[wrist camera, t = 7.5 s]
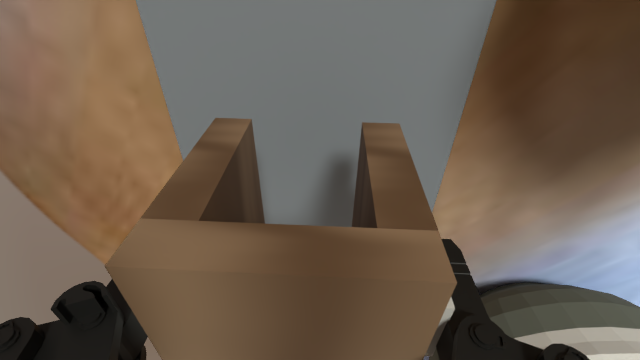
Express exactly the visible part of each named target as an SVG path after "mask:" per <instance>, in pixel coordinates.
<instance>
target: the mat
mask: <svg viewBox="0 0 640 360" xmlns="http://www.w3.org/2000/svg"><path fill="white" fill-rule="evenodd" d="M136 3H137V6H138V10H139V13H140V16H141V20H142V23H143V27H144V30H145V33H146V37H147V40H148V43H149V47H150V50H151V53H152V57H153V60H154V64H155V67H156V70H157V74H158V77H159V80H160V84H161V87H162V90H163V94H164V97H165V101H166V104H167V107H168V111H169V114H170V117H171V121H172V124H173V127H174V131H175V134H176V138H177V141H178V144H179V148H180V151H181V154H182V158H183V161H184V159H185V158H186V157H187V155H188V154H189V153H190V151H191V150H192V149H193V147H194V146H195V145H196V143H197V142H198V140H199V139H200V138H201V136H202V135H203V134H204V132H205V131H206V130H207V128H208V127H209V126H210V124H211V123H212V122H213V120H214V119H215V118H238V119H252V125H253V133H254V141H255V149H256V157H257V165H258V172H259V180H260V188H261V196H262V204H263V212H264V219H265V224H287V225H311V226H335V227H352V218H353V208H354V198H355V188H356V178H357V168H358V158H359V148H360V138H361V128H362V122H367V123H399V124H400V126H401V129H402V132H403V135H404V138H405V140H406V143H407V146H408V149H409V151H410V154H411V157H412V160H413V162H414V165H415V168H416V171H417V173H418V176H419V179H420V182H421V184H422V187H423V190H424V193H425V195H426V198H427V201H428V204H429V206H430V209H431V212H432V211H433V207H434V204H435V201H436V197H437V194H438V191H439V188H440V184H441V181H442V178H443V174H444V171H445V168H446V165H447V161H448V158H449V155H450V151H451V148H452V145H453V142H454V138H455V135H456V132H457V128H458V125H459V122H460V119H461V115H462V112H463V109H464V105H465V102H466V99H467V96H468V92H469V89H470V86H471V82H472V79H473V76H474V73H475V69H476V66H477V63H478V59H479V56H480V53H481V50H482V46H483V43H484V40H485V36H486V33H487V30H488V27H489V23H490V20H491V17H492V13H493V10H494V7H495V4H496V0H136Z"/></svg>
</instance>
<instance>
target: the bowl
mask: <svg viewBox="0 0 640 360" xmlns="http://www.w3.org/2000/svg"><path fill="white" fill-rule="evenodd" d="M480 298H481V300H482V302H483V305H484V307H485V310H486V312H487V314H488V316H489V318H490V320H491V321H493V322H494V323H495V324H497V325H498V326H499V327H500V328H501V329H502V330H503V332H504V333H505V334H506V335H508V336H509V337H511V338H514V339H516V340H518V341H521V342H524V343H527V344H529V345H532V346H535V347H538V348H541V349H545V348H546V347H547V346H549V345H551V344H565V345H568V346H571V347H573V348H575V349H577V350H578V351H580V352H582V353H583V354H585V355H586V356H587V357H588V358H589V359H590V360H640V307H638V306H636V305H634V304H632V303H631V302H629V301H627V300H624V299H622V298H619V297H617V296H615V295H612V294H608V293H604V292H599V291H594V290H589V289H584V288H580V287H575V286H569V285H554V284H541V283H516V284H509V285H505V286H501V287H497V288H495V289H492V290H489V291H487V292H485V293H483V294H481V295H480ZM429 360H439V357H438V353H437V349H436V350H435V352H434V354H433V356H430V357H429Z"/></svg>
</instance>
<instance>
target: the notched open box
mask: <svg viewBox="0 0 640 360" xmlns="http://www.w3.org/2000/svg"><path fill="white" fill-rule="evenodd" d="M105 268H106V269H107V271H108V273H109V274H110V276H111V277H112V279H113V281H114V282H115V284H116V286H117V287H118V289H119V290H120V292H121V294H122V295H123V297H124V299H125V300H126V302H127V303H128V305H129V307H130V308H131V310H132V312H133V313H134V315H135V316H136V318H137V320H138V321H139V323H140V325H141V326H142V328H143V329H144V331H145V333H146V334H147V336H148V337H149V339H150V341H151V342H152V344H153V346H154V347H155V349H156V350H157V352H158V354H159V355H160V357H161V359H162V360H423V359H424V356H425V354H426V352H427V350H428V347H429V345H430V343H431V341H432V338H433V336H434V334H435V331H436V329H437V327H438V325H439V322H440V320H441V318H442V316H443V313H444V311H445V309H446V307H447V304H448V302H449V300H450V298H451V295H452V293H453V291H454V289H455V286H456V284H457V281H456V278H455V275H454V273H453V270H452V267H451V264H450V262H449V259H448V256H447V253H446V251H445V248H444V245H443V242H442V240H441V237H440V234H439V231H438V228H437V226H436V223H435V220H434V217H433V215H432V212H431V209H430V206H429V204H428V201H427V198H426V195H425V193H424V190H423V187H422V184H421V182H420V179H419V176H418V173H417V171H416V168H415V165H414V162H413V160H412V157H411V154H410V151H409V149H408V146H407V143H406V140H405V138H404V135H403V132H402V129H401V126H400V124H399V123H367V122H362V128H361V138H360V148H359V158H358V168H357V178H356V188H355V198H354V208H353V218H352V227H335V226H311V225H287V224H265V219H264V212H263V204H262V196H261V188H260V180H259V172H258V165H257V157H256V149H255V141H254V133H253V125H252V119H238V118H215V119H214V120H213V122H212V123H211V124H210V126H209V127H208V128H207V130H206V131H205V132H204V134H203V135H202V136H201V138H200V139H199V140H198V142H197V143H196V145H195V146H194V147H193V149H192V150H191V151H190V153H189V154H188V155H187V157H186V158H185V159H184V161H183V162H182V163H181V165H180V166H179V167H178V169H177V170H176V171H175V173H174V174H173V175H172V177H171V178H170V179H169V181H168V182H167V183H166V185H165V186H164V187H163V189H162V190H161V191H160V193H159V194H158V195H157V197H156V198H155V200H154V201H153V202H152V204H151V205H150V206H149V208H148V209H147V210H146V212H145V213H144V214H143V216H142V217H141V218H140V220H139V221H138V222H137V224H136V225H135V226H134V228H133V229H132V230H131V232H130V233H129V234H128V236H127V237H126V238H125V240H124V241H123V242H122V244H121V245H120V246H119V248H118V249H117V251H116V252H115V253H114V255H113V256H112V257H111V259H110V260H109V261H108V263H107V264H106V265H105Z"/></svg>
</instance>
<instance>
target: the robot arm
mask: <svg viewBox="0 0 640 360" xmlns="http://www.w3.org/2000/svg"><path fill="white" fill-rule="evenodd" d="M441 240H442V242H443V245H444V248H445V251H446V253H447V256H448V259H449V262H450V264H451V267H452V270H453V273H454V275H455V278H456V281H457V284H456V286H455V289H454V291H453V293H452V295H451V298H450V300H449V302H448V304H447V307H446V309H445V311H444V313H443V316H442V318H441V320H440V322H439V325H438V327H437V329H436V331H435V334H434V336H433V338H432V341H431V343H430V345H429V347H428V350H427V352H426V354H425V356H433V354H434V352H435V350H436V349H437V353H438V357H439V360H590V359H589V358H588V357H587V356H586V355H585V354H583V353H582V352H580V351H578V350H577V349H575V348H573V347H571V346H568V345H565V344H551V345H549V346H547V347H546V348H545V349H541V348H538V347H535V346H532V345H529V344H527V343H524V342H521V341H518V340H516V339H514V338H511V337H509V336H508V335H506V334H505V333H504V332H503V330H502V329H501V328H500V327H499V326H498V325H497V324H495V323H494V322H493V321H491V320H490V318H489V316H488V314H487V312H486V310H485V307H484V305H483V302H482V300H481V298H480V295H479V293H478V290H477V288H476V286H475V283H474V281H473V278H472V276H471V275H470V271H469V269H468V266H467V265H466V262H465V259H464V257H463V254H462V252H461V250H460V249H459V248H458V247H457V246H456V245H455V243H454V242H453V241H452V240H451V239H441ZM51 310H52V311H53V313H54V314H55V315H56V316H57V317H58V318H59V319H60V320H58V321H53V322H49V323H45V324H41V325H36V324H35V323H34V322H33V321H32V320H31V319H30V318H23V317H19V318H15V319H11V320H8V321H6V322H4V323H2V324H0V360H146V348H145V346H144V343H145V341H146V339H147V337H148V336H147V334H146V333H145V331H144V329H143V328H142V326H141V325H140V323H139V321H138V320H137V318H136V316H135V315H134V313H133V312H132V310H131V308H130V307H129V305H128V303H127V302H126V300H125V299H124V297H123V295H122V294H121V292H120V290H119V289H118V287H117V286H116V284H115V282H114V281H113V279H112V280H111V281H110V283H109V284H108V285H107V287H105V286H104V285H103V284H102V283H100V282H96V281H91V282H84V283H81V284H78V285H76V286H74V287H72V288H70V289H69V290H67V291H66V292H64V293H63V294H62V295H61V296H60V297H59V298H58V299H57V300H56V301H55V302H54V304H53V306H52V308H51Z"/></svg>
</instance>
